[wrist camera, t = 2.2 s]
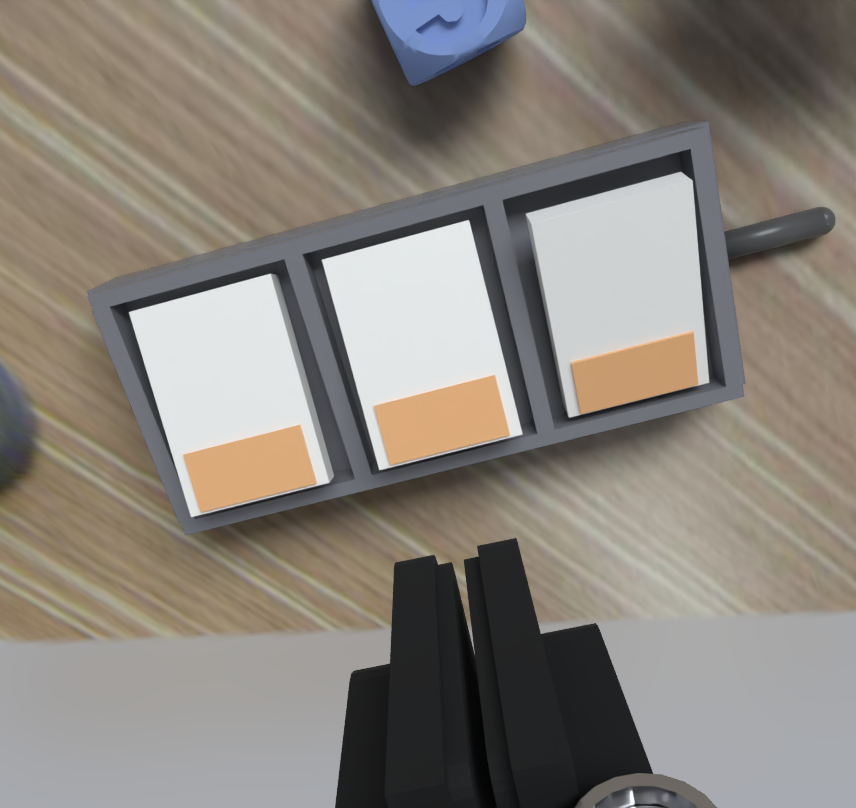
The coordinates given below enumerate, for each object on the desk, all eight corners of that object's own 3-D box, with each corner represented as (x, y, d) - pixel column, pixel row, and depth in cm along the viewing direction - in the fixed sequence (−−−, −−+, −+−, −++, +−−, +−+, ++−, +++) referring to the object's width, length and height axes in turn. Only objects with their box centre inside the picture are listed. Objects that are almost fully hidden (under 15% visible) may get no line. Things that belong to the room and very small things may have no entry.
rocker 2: (678, 170, 24) (694, 181, 23) (696, 366, 28) (710, 384, 27) (524, 211, 25) (532, 225, 23) (561, 400, 28) (569, 419, 27)
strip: (813, 86, 27) (872, 79, 24) (838, 334, 30) (893, 360, 27) (113, 278, 29) (72, 298, 26) (199, 494, 32) (172, 539, 28)
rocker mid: (468, 223, 26) (469, 219, 25) (520, 428, 27) (522, 435, 26) (328, 261, 26) (321, 259, 25) (382, 462, 27) (378, 471, 26)
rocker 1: (279, 274, 27) (269, 273, 25) (335, 474, 27) (329, 483, 26) (143, 311, 27) (127, 312, 26) (202, 507, 28) (190, 518, 26)
